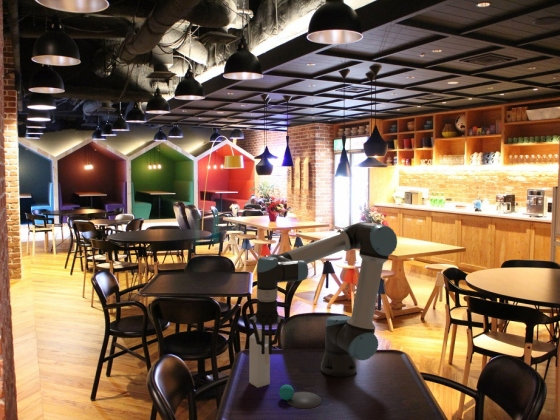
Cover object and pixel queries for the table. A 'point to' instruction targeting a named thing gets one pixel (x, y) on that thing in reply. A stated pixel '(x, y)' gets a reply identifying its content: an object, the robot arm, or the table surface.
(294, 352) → the table surface
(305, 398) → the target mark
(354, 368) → the robot arm
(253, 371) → the milk
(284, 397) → the ball
